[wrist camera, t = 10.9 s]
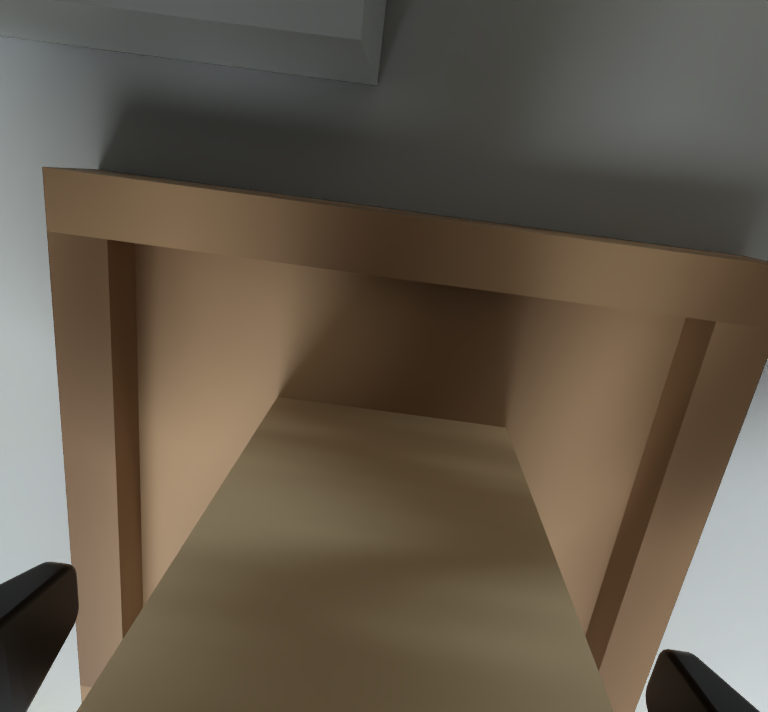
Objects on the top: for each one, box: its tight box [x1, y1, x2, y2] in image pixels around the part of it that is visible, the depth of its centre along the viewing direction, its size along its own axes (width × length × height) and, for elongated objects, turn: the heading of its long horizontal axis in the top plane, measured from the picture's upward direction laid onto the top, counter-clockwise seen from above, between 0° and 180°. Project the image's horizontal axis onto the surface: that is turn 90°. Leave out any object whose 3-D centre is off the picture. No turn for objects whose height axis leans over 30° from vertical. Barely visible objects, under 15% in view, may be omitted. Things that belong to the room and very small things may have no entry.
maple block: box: [77, 397, 614, 712], centre depth 7 cm, size 4×4×8 cm
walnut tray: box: [42, 167, 768, 712], centre depth 11 cm, size 12×12×2 cm
